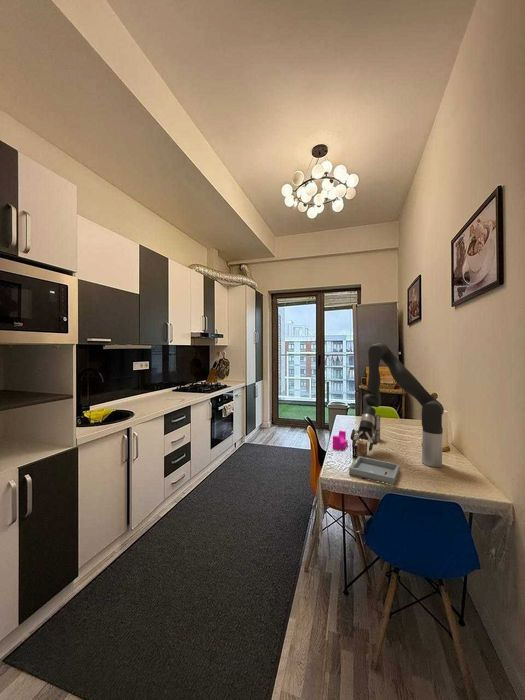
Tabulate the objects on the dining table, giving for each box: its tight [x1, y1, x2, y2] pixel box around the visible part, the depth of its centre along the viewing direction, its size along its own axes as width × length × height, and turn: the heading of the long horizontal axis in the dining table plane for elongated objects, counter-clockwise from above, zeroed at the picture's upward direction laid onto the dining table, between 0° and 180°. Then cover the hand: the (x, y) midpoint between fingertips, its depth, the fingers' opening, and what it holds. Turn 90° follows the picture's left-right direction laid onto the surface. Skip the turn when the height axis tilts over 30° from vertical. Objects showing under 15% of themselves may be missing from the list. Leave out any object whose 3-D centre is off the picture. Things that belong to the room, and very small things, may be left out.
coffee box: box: [371, 414, 381, 441], centre depth 196 cm, size 9×6×16 cm
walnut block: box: [356, 440, 368, 459], centre depth 161 cm, size 4×4×9 cm
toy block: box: [332, 430, 349, 451], centre depth 182 cm, size 15×6×8 cm, turn 149°
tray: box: [348, 456, 401, 486], centre depth 143 cm, size 20×18×4 cm
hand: (361, 448), depth 161 cm, fingers open, 8 cm apart
